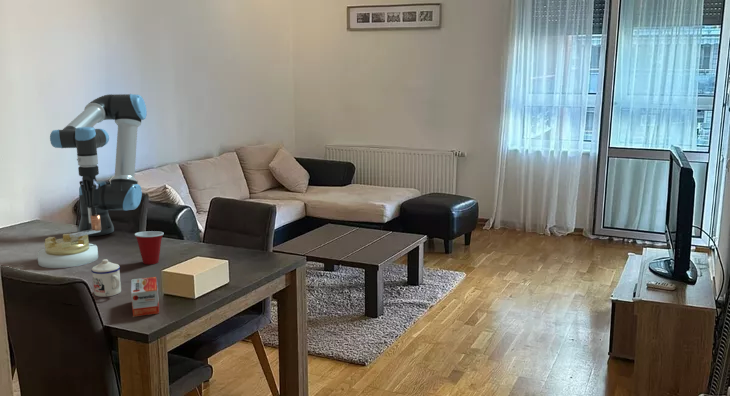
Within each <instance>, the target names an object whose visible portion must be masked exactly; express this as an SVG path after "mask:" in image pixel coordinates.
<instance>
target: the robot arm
mask: <svg viewBox="0 0 730 396" xmlns="http://www.w3.org/2000/svg"><path fill="white" fill-rule="evenodd" d="M147 112H148V111H147V105H146V102H145V100H144V98H143V96H141V95H140V94H133V93H129V94H126V93H125V94H122V93H121V94H120V93H119V94H116V93H115V94H112V93H111V94H109V93H108V94H105V95H102V96H99V97H97V98H95V99H93V100H91V101H90V102H88V104H86V105H85V106H84V109H83V111H81V113H80V114H78V115H77V116H76V117H75V118H74V119H72V121H71V122H69V123H68V124H67V125H65V127H64V128H62V129H53V130H51V132H50V136H49V141H50V144H51V146H52V147H53V148H55V149H74V148H75V149H76V157H77V158H76V161H77V166H78V176H80V177H82V178H81V179H82V180H81V181H79V185H80V186H79V188H78V197H79V207H80V216H81V217H80V221H79V225H78V231H77V232H82V231H86V230H91V229H92V226H91V215H100V220H101V232H98V233H93V234H89V235H88V237H98V236H103V235H104V236H105V235H109V234H111V233H113V232H114V231H115V227H114V224H113V222H112V220H111V217H110V215H109V211H132V210H133V211H134V210H136V209H137V208H138V207H140V204H141V200H142V198H143V197H142V196H143V192H142V191H143V189H142V187H141V185H140V184H139V183H138V180H137V179H136V178H135V175H136V174H135V173H136V160H137V159H136V158H137V157H136V156H137V142H138V141H137V140H138V127H140V126H141V125H142V121H144V120H146V119H147V118H146V117H147ZM109 120H110V121H114V124H116V126H117V134H116V136H117V137H116V149H115V150H116V151H115V164H114V165H115V167H114V177H112V178H111V179H110V184H107V182H106V180H98V181H97V177H96V176H98V175H99V174H100V173H99V166H98V165H99V159H98V158H99V157H98V149H99V148H103V147H104V146H106V145H107V144H108V143H109V141H110V135H109V133H108V132H107V131H106V130H105V129H104V128H94V126H95V125H97V123H102V122H103V121H109Z"/></svg>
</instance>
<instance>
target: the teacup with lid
mask: <svg viewBox="0 0 730 396" xmlns="http://www.w3.org/2000/svg"><path fill="white" fill-rule="evenodd" d="M120 269H121V267H120V265H119V264H118V263H113V262H111V261H109V260H108V259H107V258H106V259H102V260H101V262H100V263H98V264H97V265H94V266H93V267H92V268H91V271H90V272H91V273H92V274H91V275H92V283H93V294H94V295H95V296H96V297H99V298H100V297H102V298H103V297H104V298H105V297H108V298H109V297H112V296H116V295H118V294H120V293H121V292H122V283H121V272H120Z"/></svg>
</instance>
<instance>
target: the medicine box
mask: <svg viewBox="0 0 730 396" xmlns="http://www.w3.org/2000/svg"><path fill="white" fill-rule="evenodd" d="M157 278H158V277H157V276H151V277H143V278H142V277H140V278H133V279H131V280H130V281H131V282H130V296H131V297H130V298H131V308H132V309H131V310H132V318H135V317H141V316H151V315H159V314H160V302H159V299H160V298H159V297H160V296H159V287H158V279H157Z"/></svg>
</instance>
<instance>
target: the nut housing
mask: <svg viewBox="0 0 730 396" xmlns="http://www.w3.org/2000/svg"><path fill="white" fill-rule="evenodd" d="M98 250H99V249H98V246H97V244H93V243H89V249H88V250H86V251H84V252H81V253H77V254H71V255H49V254H46V251H45V247H44V248H42V249H41V250H39V251H37V262H38V263H37V264H38V266H40V267H42V268H45V269H65V268H66V269H67V268H74V267H75V268H76V267H79V266H85V265H89V264H90V263H93V262H95V261H97V260H98V259H99V251H98Z"/></svg>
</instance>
